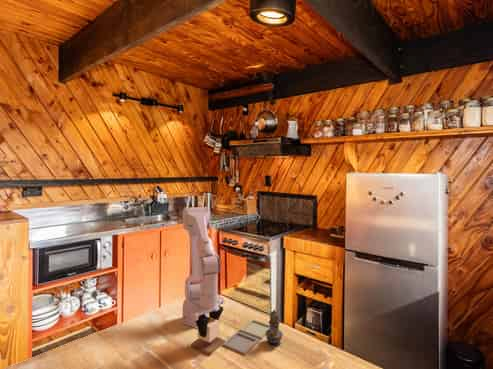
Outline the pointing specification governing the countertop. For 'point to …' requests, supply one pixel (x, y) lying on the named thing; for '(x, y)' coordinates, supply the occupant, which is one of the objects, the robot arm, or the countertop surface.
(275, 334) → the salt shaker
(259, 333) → the tray sage
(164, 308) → the countertop surface
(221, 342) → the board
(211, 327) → the letter cube
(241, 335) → the tray grey
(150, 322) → the countertop surface
